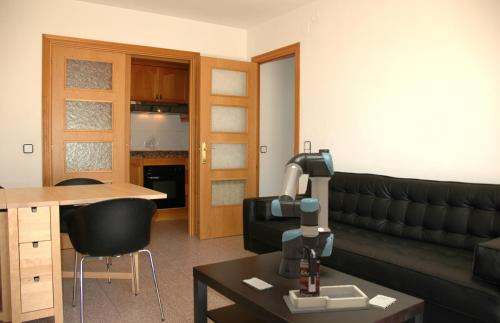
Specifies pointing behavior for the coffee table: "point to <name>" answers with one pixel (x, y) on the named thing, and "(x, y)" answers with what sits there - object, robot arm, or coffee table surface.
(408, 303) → the coffee table surface
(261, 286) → the phone case
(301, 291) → the supplement box
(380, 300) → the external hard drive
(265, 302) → the coffee table surface
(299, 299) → the white tray
